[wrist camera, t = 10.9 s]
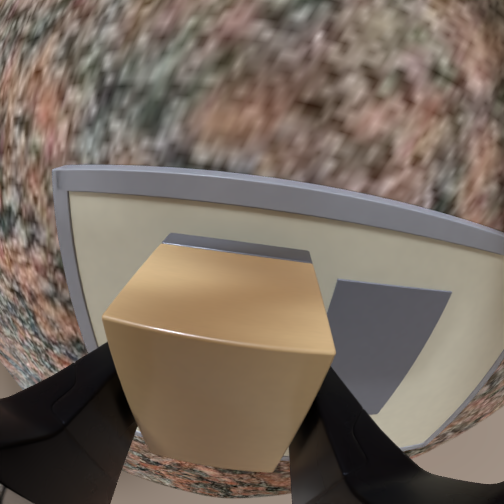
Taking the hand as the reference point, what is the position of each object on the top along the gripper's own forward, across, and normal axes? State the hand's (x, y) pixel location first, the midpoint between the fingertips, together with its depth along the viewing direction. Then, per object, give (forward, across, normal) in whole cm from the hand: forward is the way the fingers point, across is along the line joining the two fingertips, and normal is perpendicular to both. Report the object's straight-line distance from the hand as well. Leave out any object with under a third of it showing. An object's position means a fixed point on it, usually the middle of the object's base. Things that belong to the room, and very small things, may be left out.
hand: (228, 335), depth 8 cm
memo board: (+2, -5, +4) cm, 7 cm away
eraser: (+1, 0, 0) cm, 1 cm away
